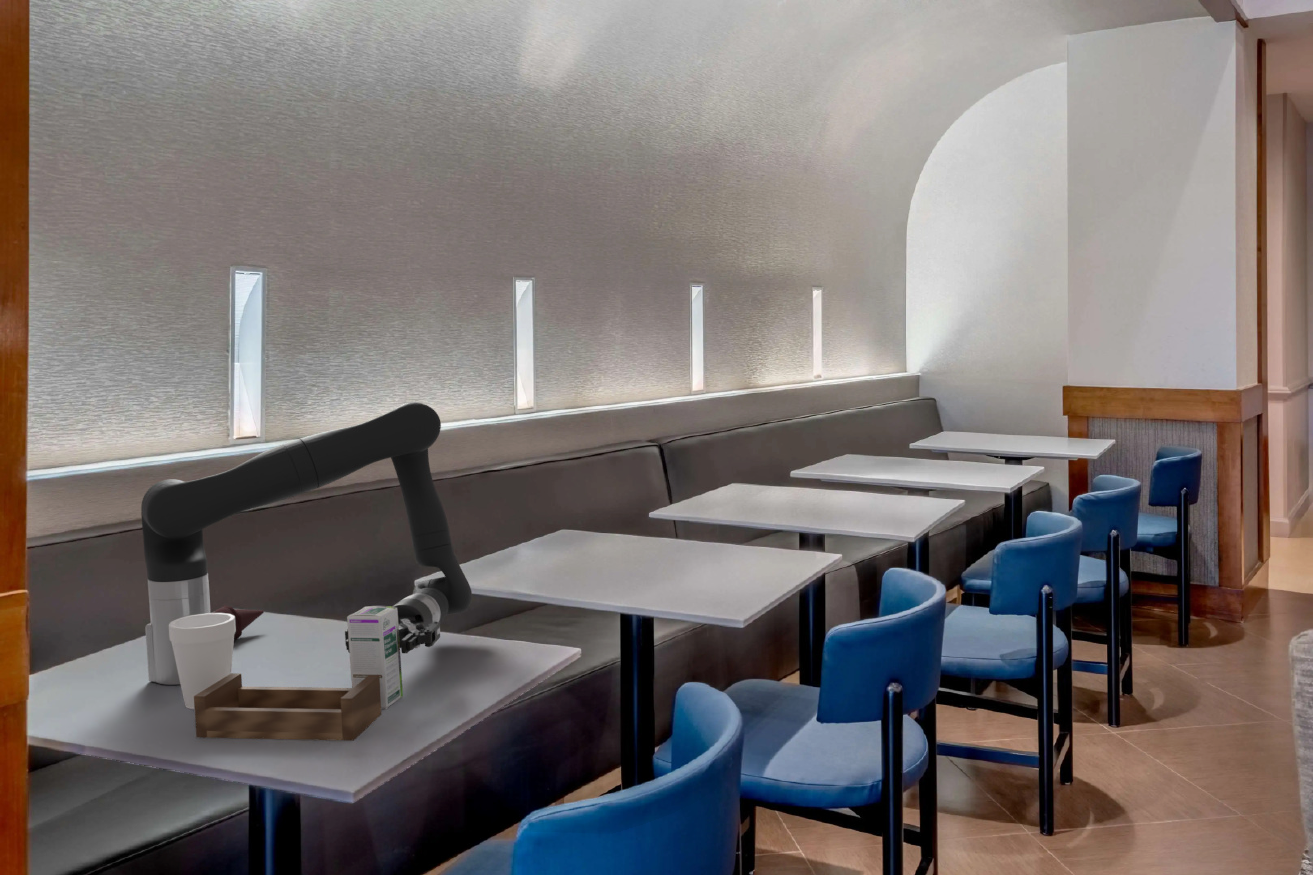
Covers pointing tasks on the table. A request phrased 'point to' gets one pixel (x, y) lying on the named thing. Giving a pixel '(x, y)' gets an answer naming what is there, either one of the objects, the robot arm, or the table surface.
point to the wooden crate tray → (286, 710)
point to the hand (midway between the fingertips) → (376, 646)
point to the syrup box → (376, 650)
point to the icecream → (240, 617)
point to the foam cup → (202, 651)
